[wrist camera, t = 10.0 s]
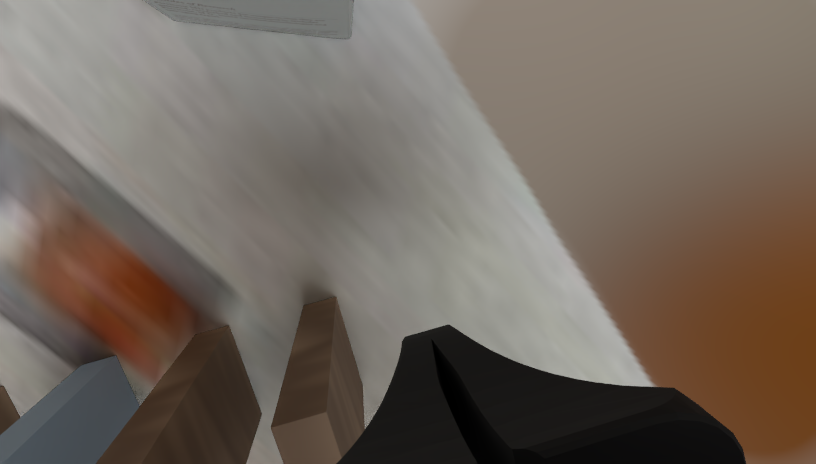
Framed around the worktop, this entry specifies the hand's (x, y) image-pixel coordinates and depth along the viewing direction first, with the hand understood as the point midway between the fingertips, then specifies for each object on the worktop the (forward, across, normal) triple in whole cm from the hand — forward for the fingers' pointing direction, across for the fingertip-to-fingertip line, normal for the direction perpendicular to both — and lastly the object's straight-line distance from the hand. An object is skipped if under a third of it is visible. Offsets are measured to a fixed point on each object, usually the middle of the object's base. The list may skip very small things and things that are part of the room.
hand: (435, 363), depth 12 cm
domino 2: (+10, +9, +3) cm, 14 cm away
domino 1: (+10, +4, +3) cm, 11 cm away
